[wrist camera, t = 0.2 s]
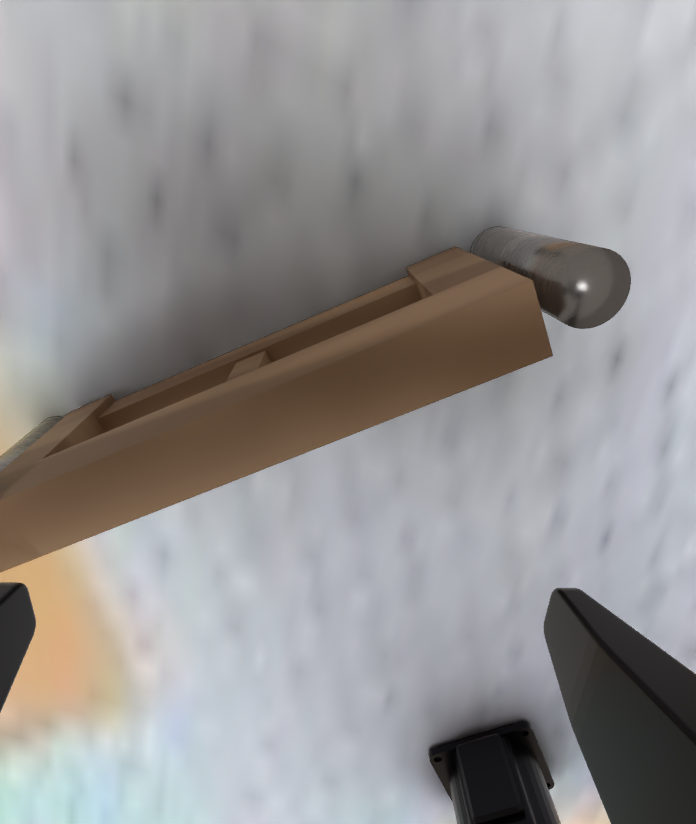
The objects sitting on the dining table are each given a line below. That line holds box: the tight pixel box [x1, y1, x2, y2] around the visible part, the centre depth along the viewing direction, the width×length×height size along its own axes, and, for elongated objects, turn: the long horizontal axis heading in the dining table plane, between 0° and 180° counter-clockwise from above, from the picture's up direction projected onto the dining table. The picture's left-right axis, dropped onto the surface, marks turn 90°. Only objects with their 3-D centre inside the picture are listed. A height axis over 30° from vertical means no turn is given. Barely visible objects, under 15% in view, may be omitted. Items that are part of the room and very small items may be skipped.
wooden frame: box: [0, 247, 553, 572], centre depth 17 cm, size 2×17×8 cm, turn 113°
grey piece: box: [0, 227, 631, 471], centre depth 18 cm, size 2×22×8 cm, turn 113°
